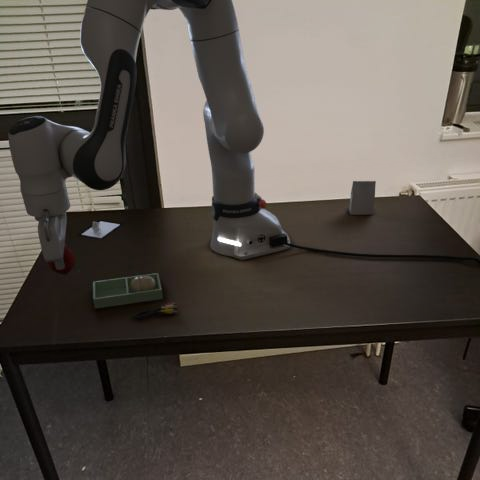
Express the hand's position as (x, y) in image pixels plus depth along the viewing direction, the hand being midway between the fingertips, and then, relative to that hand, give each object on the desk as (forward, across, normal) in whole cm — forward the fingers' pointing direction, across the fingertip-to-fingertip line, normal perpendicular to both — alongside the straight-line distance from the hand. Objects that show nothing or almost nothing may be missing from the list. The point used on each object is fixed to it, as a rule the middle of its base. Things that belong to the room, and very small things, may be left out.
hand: (61, 260), depth 114 cm
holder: (+12, +1, -13) cm, 18 cm away
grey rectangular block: (+12, +31, -87) cm, 93 cm away
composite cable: (+12, -9, -19) cm, 24 cm away
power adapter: (+12, +41, -7) cm, 43 cm away
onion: (+4, 0, 0) cm, 4 cm away
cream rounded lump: (+12, +1, -17) cm, 21 cm away
